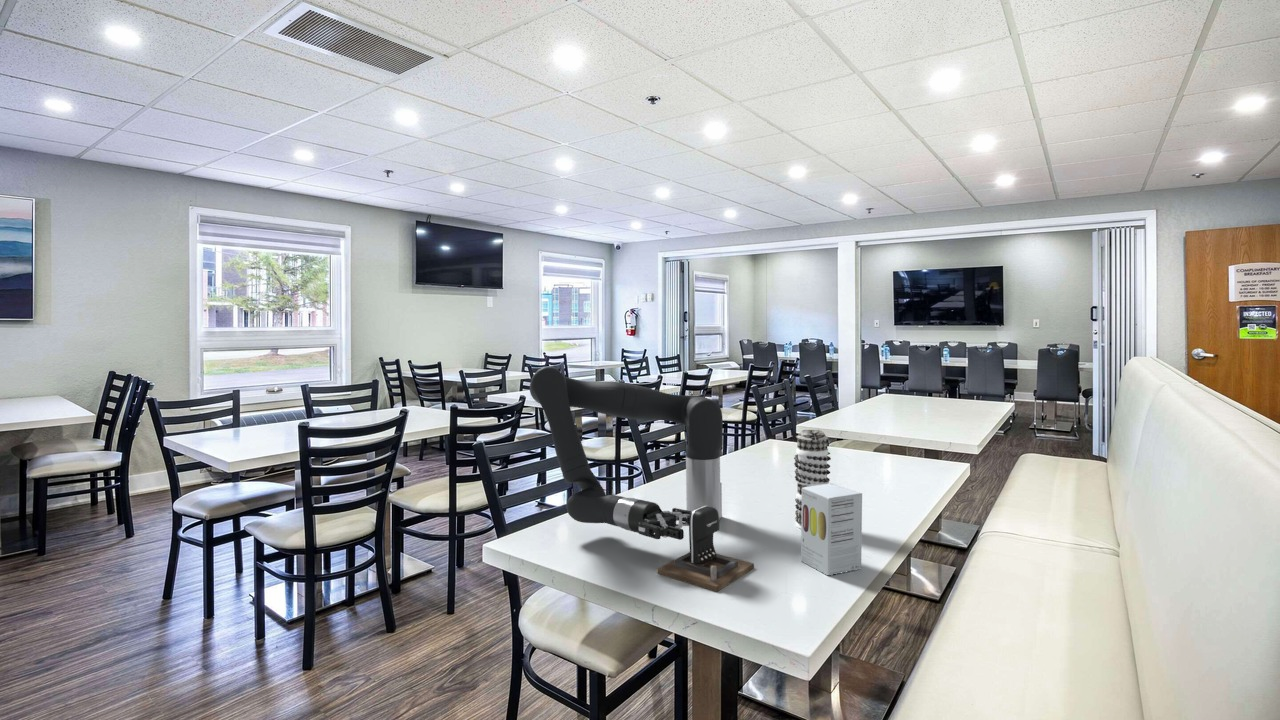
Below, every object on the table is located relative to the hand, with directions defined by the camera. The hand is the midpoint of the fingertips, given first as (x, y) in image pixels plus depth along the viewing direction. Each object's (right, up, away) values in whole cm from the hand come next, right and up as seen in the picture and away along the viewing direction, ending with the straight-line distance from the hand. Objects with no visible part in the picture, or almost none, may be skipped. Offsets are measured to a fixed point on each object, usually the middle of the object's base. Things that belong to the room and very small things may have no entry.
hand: (694, 529), depth 134 cm
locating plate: (+2, -8, -2) cm, 9 cm away
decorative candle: (+33, -7, +26) cm, 43 cm away
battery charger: (+2, -6, -2) cm, 7 cm away
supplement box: (+30, -8, 0) cm, 31 cm away
